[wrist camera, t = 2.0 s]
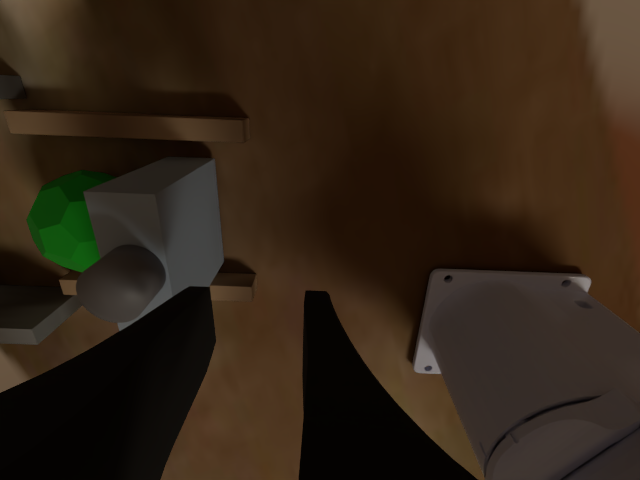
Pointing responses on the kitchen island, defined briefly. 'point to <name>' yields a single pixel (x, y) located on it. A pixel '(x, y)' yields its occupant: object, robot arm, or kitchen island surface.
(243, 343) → the kitchen island surface
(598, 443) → the robot arm
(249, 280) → the pitch goal
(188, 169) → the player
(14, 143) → the kitchen island surface
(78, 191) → the polyhedron
